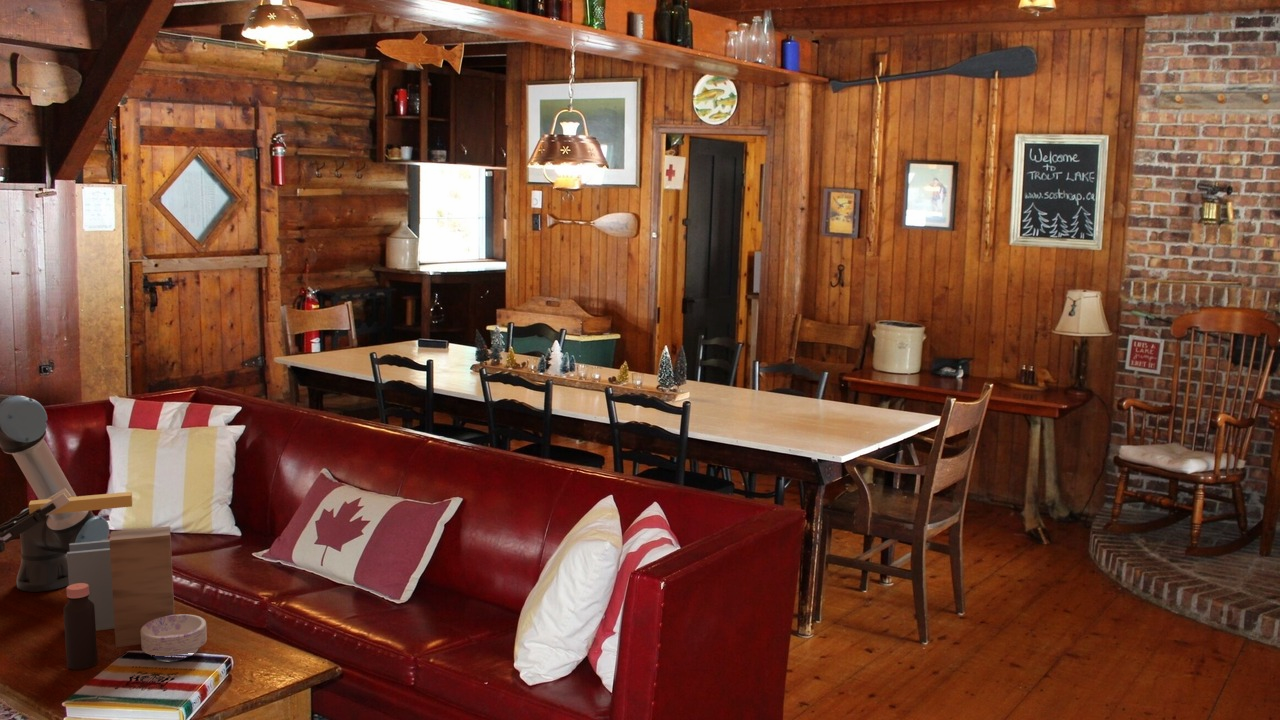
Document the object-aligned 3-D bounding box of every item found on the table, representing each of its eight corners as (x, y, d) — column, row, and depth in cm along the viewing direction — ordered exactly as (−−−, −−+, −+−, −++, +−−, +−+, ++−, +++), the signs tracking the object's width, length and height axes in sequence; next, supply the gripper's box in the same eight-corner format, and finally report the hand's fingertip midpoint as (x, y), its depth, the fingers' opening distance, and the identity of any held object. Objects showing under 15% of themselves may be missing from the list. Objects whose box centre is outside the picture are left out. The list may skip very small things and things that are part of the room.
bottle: (102, 664, 287) (97, 586, 284) (73, 673, 282) (68, 593, 279) (91, 656, 291) (86, 579, 288) (62, 664, 286) (57, 586, 283)
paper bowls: (170, 672, 283) (168, 641, 282) (128, 659, 290) (126, 628, 289) (220, 651, 296) (219, 620, 295) (179, 638, 303) (178, 609, 302)
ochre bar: (31, 511, 303) (30, 500, 303) (132, 502, 312) (131, 491, 312) (29, 516, 300) (28, 504, 299) (132, 506, 308) (131, 495, 308)
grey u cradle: (74, 621, 314) (69, 543, 311) (139, 613, 320) (135, 537, 317) (72, 633, 306) (66, 553, 302) (138, 625, 312) (134, 547, 308)
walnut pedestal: (117, 635, 305) (111, 531, 300) (175, 628, 310) (170, 526, 305) (115, 647, 297) (109, 540, 293) (175, 640, 302) (169, 535, 298)
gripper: (-4, 548, 308) (78, 497, 313) (-14, 568, 292) (74, 515, 298) (-23, 525, 305) (61, 475, 311) (-33, 545, 290) (55, 491, 295)
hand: (67, 494), depth 304 cm, fingers closed on ochre bar, 4 cm apart
